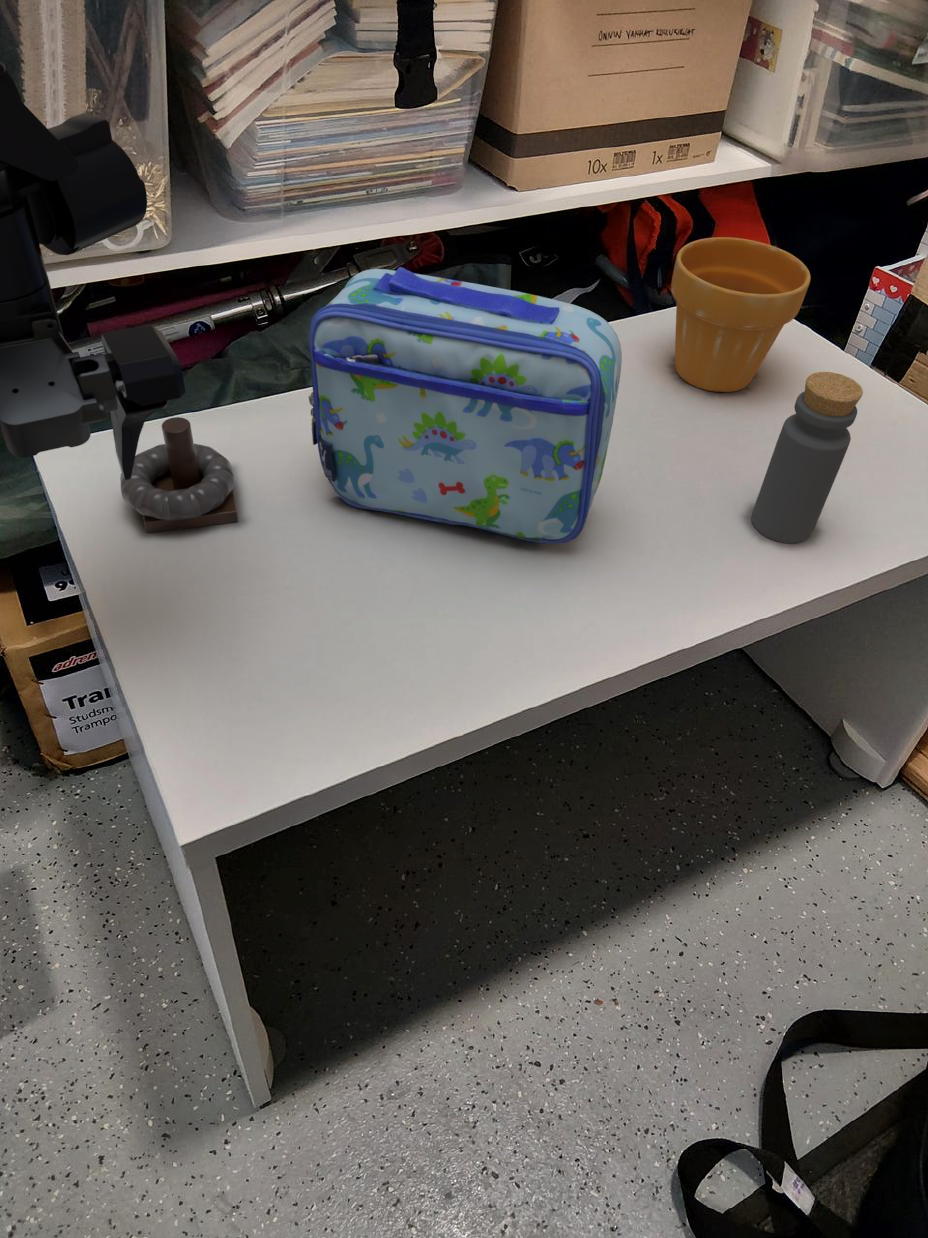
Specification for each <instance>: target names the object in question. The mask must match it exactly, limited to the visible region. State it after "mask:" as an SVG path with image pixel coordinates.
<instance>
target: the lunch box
mask: <svg viewBox="0 0 928 1238" xmlns="http://www.w3.org/2000/svg"><path fill="white" fill-rule="evenodd" d="M308 347H309V359H310V371H311V384H312V385H311V386H312V392H311V393H310V395H308V402H309V405H310V406H312V408H310V416H311V417H312V418H311V435H312V436H311V437H312V445H313V446H316V445H317V449H318V454H319V460H320V464H321V467H322V470H323V473H324V474H323V475H324V476H325V478H326V479H327V481H328V482H329V485H331V487H332V489H333V490H334V491H335V493H336V495H338V497H339V498H340V499H341V500H342V501H343V502H344V503H346V504H348V505H349V506H352V507H353V508H354V507H355V508H358V509H362V510H363V509H364V510H370V511H380V512H383V513H390V514H396V515H400V516H401V515H402V516H406V517H410V518H415V519H419V520H420V519H421V520H426V521H430V522H437V523H444V524H448V525H452V526H453V525H454V526H455V525H456V526H467V527H470V528H474V529H475V528H476V529H480V530H484V531H488V532H492V533H496V534H499V535H503V536H506V537H507V536H508V537H511V538H515V539H519V540H523V541H527V542H531V543H538V544H539V543H540V544H551V545H552V544H554V545H555V544H565V543H569V542H571V541H574V540H575V539H576V538H577V537H578V536H579V535H580V534H581V533H582V531H583V529H584V528H585V524H586V522H587V519H588V515H589V512H590V510H591V509H592V506H593V502H594V499H595V496H596V493H597V491H598V489H599V485H600V483H601V478H602V476H603V472H604V469H605V468H604V467H605V463H606V459H607V454H608V450H609V449H608V448H609V444H610V438H611V434H612V433H611V432H612V428H613V423H614V418H615V417H614V416H615V410H616V404H617V398H618V395H619V394H618V393H619V388H620V381H621V373H622V363H623V362H622V358H623V357H622V355H623V354H622V344H621V341H620V338H619V336H618V334H617V332H616V331H615V329H614V327H613V326H612V325H611V324H610V323H609V322H608V321H607V320H606V319H604V318H603V317H601V316H600V315H599V314H597V313H595V312H593V311H592V310H589V309H586V308H585V307H581V306H579V305H576V304H573V303H569V302H566V301H561V300H557V299H554V298H548V297H544V296H540V295H535V294H531V293H526V292H522V291H518V290H511V289H506V288H502V287H494V286H489V285H484V284H479V283H474V282H467V281H463V280H462V281H461V280H456V279H451V278H450V279H449V278H444V277H440V276H433V275H426V274H420V273H415V272H412V271H410V270H408V269H406V268H404V267H402V266H400V267H398V268H397V270H393V269H386V268H385V269H384V268H371V269H365V270H363V271H360V272H359V273H357V274H355V275H354V276H352V277H351V278H350V279H349V280H348V281H347V283H346V285H345V286H344V287H343V289H341V291H339V293H338V294H337V295H336V296H335V297H333V299H332V300H331V301H330V302H328V303H327V304H326V306H323V307H321V308H320V309H318V310H317V311H316V312H315V313H314V314H313V315H312V318H311V320H310V326H309V333H308Z"/></svg>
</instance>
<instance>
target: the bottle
mask: <svg viewBox="0 0 928 1238" xmlns="http://www.w3.org/2000/svg"><path fill="white" fill-rule="evenodd" d="M863 394H864V390H863V388H862V386H861V385H860V384H859V383H858V382H857V381H856V380H854V379H853V378H851V377H849V376H846V375H844V374H842V373H838V372H831V371H818V372H817V371H816V372H814V373H811V374H809V375H808V376H807V377H806V379H805V386H804V391H802V392H801V393H800V394H798V396H797V397H796V400H795V403H794V408H793V409H794V412H795V413H794V414H791V415H790V416H788V417H787V418H786V419H785V420H784V422H783V424H782V427H781V430H780V433H779V435H778V438H777V441H776V444H775V447H774V448H773V453H772V455H771V458H770V460H769V463H768V466H767V470H766V472H765V474H764V478H763V481H762V483H761V486H760V489H759V492H758V496H757V498H756V501H755V504H754V506H753V510H752V513H751V523H752V525H753V527H754V528H755V530H757V531H758V532H759V533H760V534H761V535H763V537H765V538H768V539H769V540H772V541H774V542H778V543H785V544H798V543H802V542H805V541H806V540H807V539H809V538H810V537H811V536H812V534H813V532H814V530H815V529H816V525H817V523H818V521H819V518H820V516H821V514H822V512H823V509H824V506H825V504H826V501H827V500H828V497H829V495H830V492H831V490H832V487H833V485H834V484H835V483H834V482H835V480H836V479H837V475H838V473H839V470H840V468H841V466H842V463H843V461H844V458H845V457H846V454H847V451H848V449H849V446H850V443H851V440H852V437H851V433H850V431H849V429H848V428H849V427H851V426H852V425H853V424H854V422H855V420H856V418H857V415H858V408H857V404H858V403H859V401H860V400H861V398H862V397H863Z"/></svg>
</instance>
